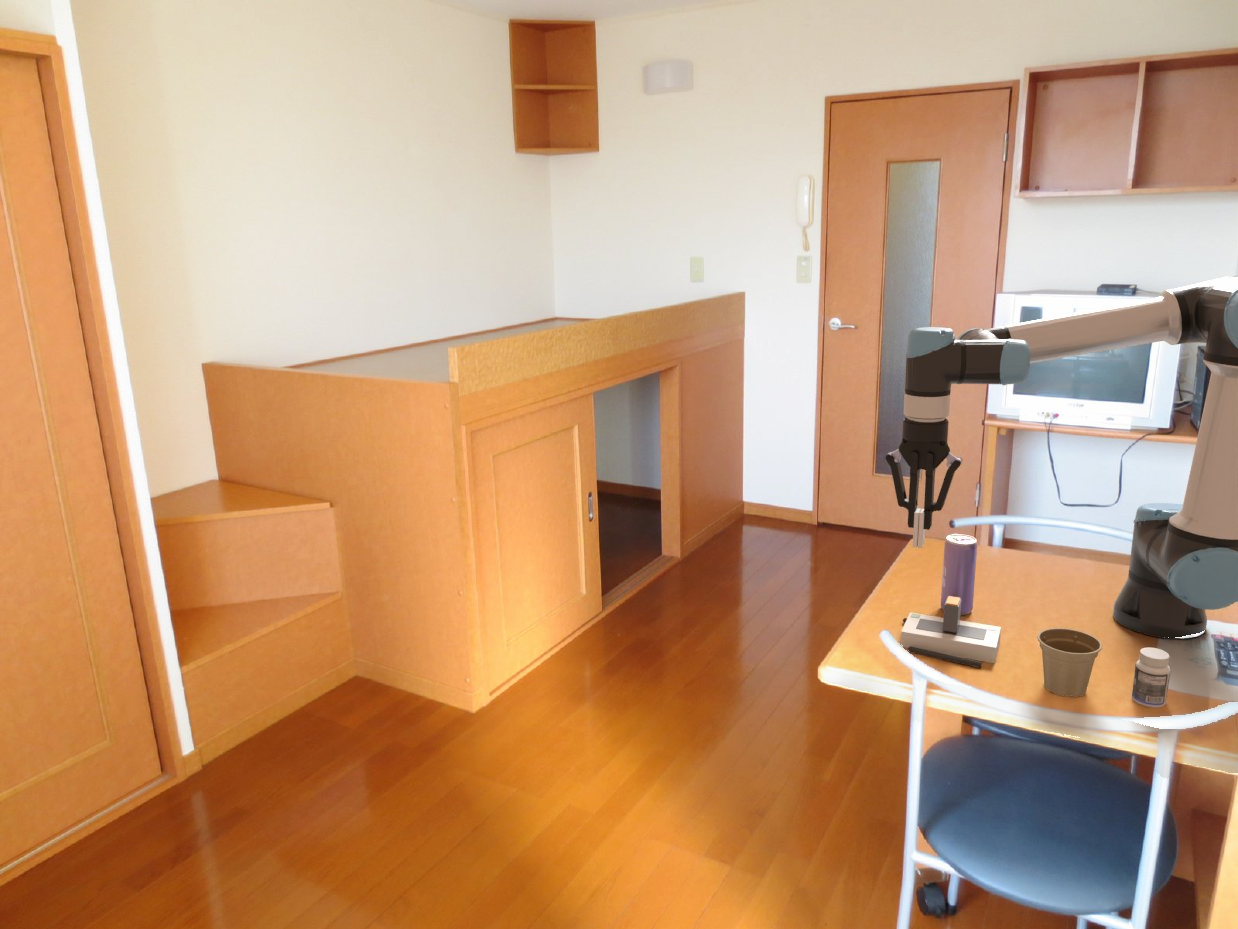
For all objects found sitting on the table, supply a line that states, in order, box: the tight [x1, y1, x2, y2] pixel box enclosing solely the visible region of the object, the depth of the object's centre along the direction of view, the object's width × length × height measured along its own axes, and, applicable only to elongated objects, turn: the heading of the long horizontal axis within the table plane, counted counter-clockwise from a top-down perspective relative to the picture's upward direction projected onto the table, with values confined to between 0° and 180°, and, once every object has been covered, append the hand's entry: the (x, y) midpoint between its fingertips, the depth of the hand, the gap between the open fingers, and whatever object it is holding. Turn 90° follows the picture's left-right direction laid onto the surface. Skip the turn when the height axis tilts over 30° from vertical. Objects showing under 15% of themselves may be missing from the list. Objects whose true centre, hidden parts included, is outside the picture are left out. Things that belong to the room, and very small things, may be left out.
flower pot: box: [1036, 627, 1103, 698], centre depth 144 cm, size 9×9×9 cm
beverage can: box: [940, 533, 978, 616], centre depth 174 cm, size 6×6×15 cm
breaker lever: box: [943, 596, 962, 633], centre depth 160 cm, size 2×4×5 cm, turn 153°
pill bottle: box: [1131, 646, 1171, 709], centre depth 140 cm, size 5×5×8 cm
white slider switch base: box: [900, 611, 1002, 664], centre depth 161 cm, size 16×9×3 cm, turn 62°
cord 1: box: [907, 646, 983, 669], centre depth 156 cm, size 12×1×1 cm, turn 56°
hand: (918, 544), depth 160 cm, fingers closed
